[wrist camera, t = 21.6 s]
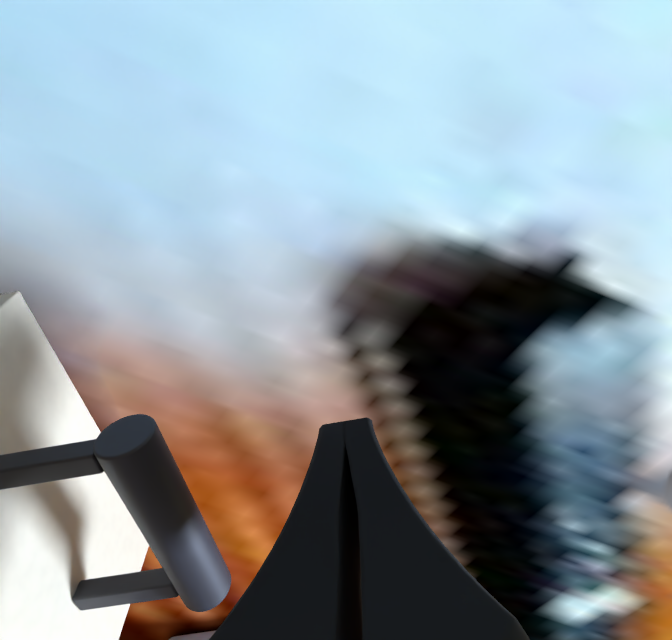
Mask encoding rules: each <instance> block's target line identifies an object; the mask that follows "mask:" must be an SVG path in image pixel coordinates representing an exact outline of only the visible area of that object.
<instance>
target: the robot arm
mask: <svg viewBox="0 0 672 640" xmlns="http://www.w3.org/2000/svg"><path fill="white" fill-rule="evenodd" d="M168 640H530V639H529V637H528V636H527V634H526V633H525V631H524V630H523V628H522V627H521V625H520V624H519V622H518V621H517V619H516V618H515V617H514V616H513V615H512V614H511V613H510V612H509V611H508V610H506V609H505V608H504V607H503V606H502V605H501V604H500V603H499V602H498V601H497V600H496V599H495V598H494V597H493V596H491V595H490V594H489V593H488V592H487V591H486V590H485V589H484V588H483V587H482V586H481V585H480V584H479V583H478V582H477V581H476V580H475V579H474V578H473V577H472V576H471V575H470V574H469V573H468V571H467V570H466V569H465V568H464V567H463V566H462V565H461V564H460V562H459V561H458V560H457V559H456V558H455V557H454V556H453V555H452V554H451V552H450V551H449V550H448V549H447V548H446V547H445V546H444V545H443V543H442V542H441V541H440V540H439V538H438V537H437V536H436V535H435V533H434V532H433V531H432V530H431V528H430V527H429V526H428V524H427V523H426V522H425V520H424V519H423V518H422V516H421V515H420V514H419V512H418V511H417V509H416V508H415V507H414V505H413V504H412V502H411V501H410V499H409V498H408V496H407V494H406V493H405V491H404V490H403V488H402V487H401V485H400V483H399V482H398V480H397V478H396V477H395V475H394V473H393V471H392V469H391V467H390V466H389V464H388V462H387V460H386V458H385V456H384V454H383V452H382V450H381V447H380V445H379V443H378V440H377V438H376V435H375V432H374V429H373V424H372V420H370V419H369V418H362V419H355V420H349V421H343V422H337V423H331V424H325V425H322V426H321V428H320V429H319V434H318V439H317V443H316V446H315V450H314V453H313V456H312V460H311V463H310V466H309V468H308V471H307V474H306V477H305V479H304V482H303V485H302V487H301V490H300V492H299V495H298V497H297V499H296V501H295V504H294V506H293V508H292V510H291V513H290V515H289V517H288V519H287V521H286V523H285V525H284V527H283V529H282V531H281V533H280V535H279V537H278V539H277V541H276V542H275V544H274V546H273V548H272V550H271V552H270V553H269V555H268V557H267V558H266V560H265V562H264V563H263V565H262V566H261V568H260V570H259V571H258V573H257V575H256V576H255V578H254V579H253V581H252V582H251V584H250V585H249V587H248V588H247V590H246V591H245V593H244V594H243V595H242V597H241V598H240V599H239V601H238V602H237V604H236V605H235V606H234V608H233V609H232V611H231V612H230V613H229V615H228V616H227V618H226V619H225V620H224V621H223V623H222V624H221V625H220V627H219V628H218V629H217V630H215V631H208V632H201V633H194V634H187V635H179V636H174V637H171V638H170V639H168Z"/></svg>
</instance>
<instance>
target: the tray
mask: <svg viewBox="0 0 672 640" xmlns="http://www.w3.org/2000/svg"><path fill="white" fill-rule="evenodd" d="M148 546H150V548H151V549H152V551H153V553H154V554H155V556H156V558H157V559H158V561H159V563H160V564H161V566H162V567H163V568H160V569H154V570H147V571H141V568H142V565H143V562H144V559H145V556H146V553H147V549H148ZM230 585H231V575H230V572H229V570H228V568H227V566H226V564H225V562H224V560H223V558H222V556H221V554H220V552H219V549H218V547H217V545H216V543H215V541H214V539H213V537H212V535H211V533H210V531H209V529H208V527H207V525H206V523H205V521H204V519H203V517H202V515H201V513H200V511H199V509H198V507H197V505H196V503H195V501H194V499H193V497H192V495H191V493H190V491H189V489H188V487H187V485H186V483H185V481H184V479H183V476H182V474H181V472H180V470H179V468H178V466H177V464H176V462H175V460H174V458H173V456H172V454H171V452H170V450H169V448H168V446H167V444H166V442H165V440H164V438H163V436H162V434H161V432H160V430H159V428H158V426H157V424H156V422H155V420H154V419H153V418H151V417H150V416H148V415H143V414H137V415H131V416H127V417H124V418H122V419H119V420H117V421H116V422H114V423H112V424H111V425H109V426H108V427H107V428H105V429H104V430H103V431H102V432H100V430H99V429H98V427H97V425H96V423H95V422H94V420H93V418H92V416H91V415H90V413H89V411H88V409H87V408H86V406H85V404H84V402H83V401H82V399H81V397H80V396H79V394H78V392H77V390H76V389H75V387H74V385H73V383H72V382H71V380H70V378H69V376H68V375H67V373H66V371H65V370H64V368H63V366H62V364H61V363H60V361H59V359H58V357H57V356H56V354H55V352H54V350H53V349H52V347H51V345H50V344H49V342H48V340H47V338H46V337H45V335H44V333H43V331H42V330H41V328H40V326H39V324H38V323H37V321H36V319H35V318H34V316H33V314H32V312H31V311H30V309H29V307H28V305H27V304H26V302H25V300H24V298H23V297H22V295H21V293H20V292H19V291H15V292H9V293H4V294H0V640H119V637H120V634H121V631H122V628H123V625H124V621H125V618H126V615H127V612H128V609H129V606H130V604H131V603H138V602H145V601H152V600H159V599H166V598H173V597H177V596H178V595H179V596H180V597H181V599H182V601H183V602H184V604H185V605H186V607H187V608H189V609H190V610H192V611H196V612H203V611H207V610H210V609H212V608H214V607H216V606H217V605H218V604H219V603H220V602H221V601H222V600H223V599H224V598H225V597H226V595H227V593H228V591H229V589H230Z"/></svg>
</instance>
